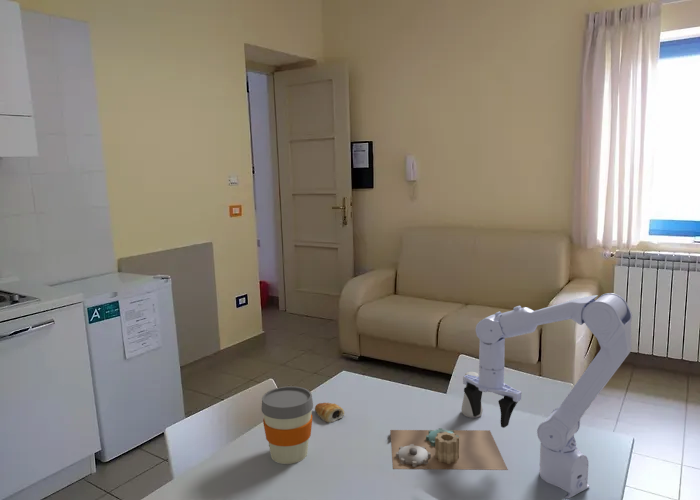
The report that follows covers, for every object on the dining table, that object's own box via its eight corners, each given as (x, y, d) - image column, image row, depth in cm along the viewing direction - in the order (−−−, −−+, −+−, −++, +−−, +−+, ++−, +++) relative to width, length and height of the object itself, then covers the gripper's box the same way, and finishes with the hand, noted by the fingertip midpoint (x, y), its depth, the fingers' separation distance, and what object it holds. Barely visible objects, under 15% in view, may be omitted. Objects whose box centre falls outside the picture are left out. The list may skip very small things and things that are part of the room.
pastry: (309, 413, 149) (308, 400, 148) (327, 406, 153) (327, 394, 152) (328, 425, 141) (327, 412, 141) (347, 417, 145) (347, 405, 145)
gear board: (489, 434, 134) (490, 417, 133) (507, 474, 116) (508, 455, 116) (390, 434, 135) (390, 417, 135) (393, 473, 117) (392, 454, 117)
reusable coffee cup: (321, 444, 131) (319, 388, 129) (304, 471, 119) (302, 410, 117) (276, 438, 134) (273, 383, 132) (254, 464, 122) (251, 405, 120)
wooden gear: (463, 457, 121) (463, 437, 121) (449, 466, 118) (449, 446, 117) (444, 448, 125) (444, 429, 125) (430, 457, 122) (430, 437, 121)
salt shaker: (480, 413, 146) (481, 369, 144) (484, 422, 140) (485, 377, 139) (460, 412, 147) (460, 369, 145) (462, 422, 141) (463, 377, 139)
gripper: (455, 362, 123) (455, 415, 125) (510, 379, 112) (508, 437, 114) (472, 355, 128) (471, 406, 130) (526, 370, 117) (524, 426, 119)
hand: (490, 420), depth 122 cm, fingers open, 7 cm apart
